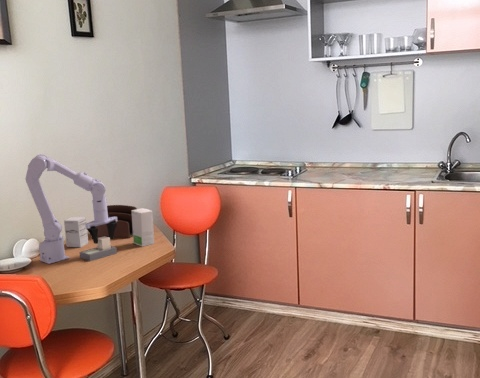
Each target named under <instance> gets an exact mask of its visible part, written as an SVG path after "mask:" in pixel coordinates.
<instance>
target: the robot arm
mask: <svg viewBox="0 0 480 378" xmlns="http://www.w3.org/2000/svg"><path fill="white" fill-rule="evenodd" d="M45 171H46V172H57V173H59V174H61V175H63V176H65V177H67V178H69V179H71V180H73V184H74V185H75V186H78V187H79V188H82V189H83V190H85V191H87V192H90V193H91V197H92V201H91V203H92V210H93V211H92V212H93V220H92V221H89V222H86V224H85V227H86V228H87V233H89V235H90V236H91V239H92V242H93V244H95V245H97V244H98V238H99V237H97V233H98V228H96V227H95V226H99V225H103V224H106V225H107V228H108V234H109V238H110V240H114V238H115V237H114V232H115V228H116V226H117V222H116V221H118V220H117V217H115V216H114V217H109V218H108V211H107V206H108V204H107V203H108V202H107V198H106V196H107V195H106V186H105V184H104V183H103V182H102V181H101V180H98V178H94V177H92V176H89V175H88V173H87V172H86V171H84V172H82V171H80V172H76V171H74V170H73V169H71V168H69V167H67V166H66V165H64V164H62V163H61V162H60V161H58V160H56V159H54V158H52V157H50V156H47V155H45V154H37V155H36V156H34V157H33V158H32V159H31V160H30V162H29V163H28V165H27V170H26V175H25V183H26V185H27V187H28V190H29V192H30V194H31V197H32V199H33V202H34V204H35V206H36V209H37V211H38V213H39V216H40V219H41V221H42V227H43V236H44V237H45V238H44V240H43V241H40V242H39V245H38V250H39V257H40V259H39V261H40V262H43V263H45V264H49V265H51V264H53V263H57V262H61V261H64V260H67V259H70V256H68V255H66V252H65V242H64V236H63V235H62V233H61V232H62V230H63V225H62V224H61V222H59V221H58V219H57V218H56V216H55V215H54V212H53V211H52V208H51V205H50V203H49V201H48V198H47V196H46V194H45V190H44V189H43V186H42V183H41V182H40V178H41V176H42V174H43V172H45Z"/></svg>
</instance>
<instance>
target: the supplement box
mask: <svg viewBox="0 0 480 378" xmlns="http://www.w3.org/2000/svg"><path fill="white" fill-rule="evenodd" d="M86 223H87V217H86V216H71V217H69V218H66V219H65V220H63V224H64V234H65V244H66V245H65V246H66V247H67V248H83V247H84V246H86V245H88V244H89V237H88V230H87V228H86V227H85V224H86Z"/></svg>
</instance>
